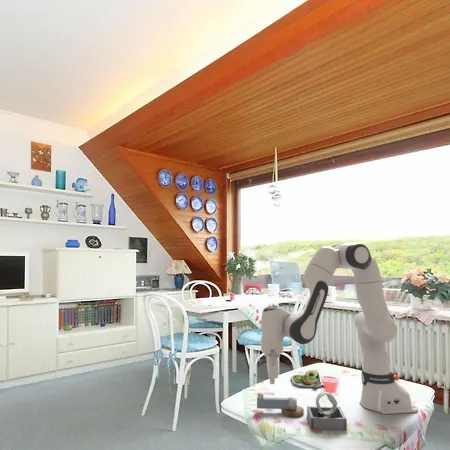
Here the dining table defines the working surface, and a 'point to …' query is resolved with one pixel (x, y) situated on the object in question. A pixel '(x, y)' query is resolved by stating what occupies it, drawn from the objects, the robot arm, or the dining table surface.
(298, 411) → the base
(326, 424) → the tray
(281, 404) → the crank arm
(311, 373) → the avocado toast plate
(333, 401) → the watch
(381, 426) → the dining table surface
